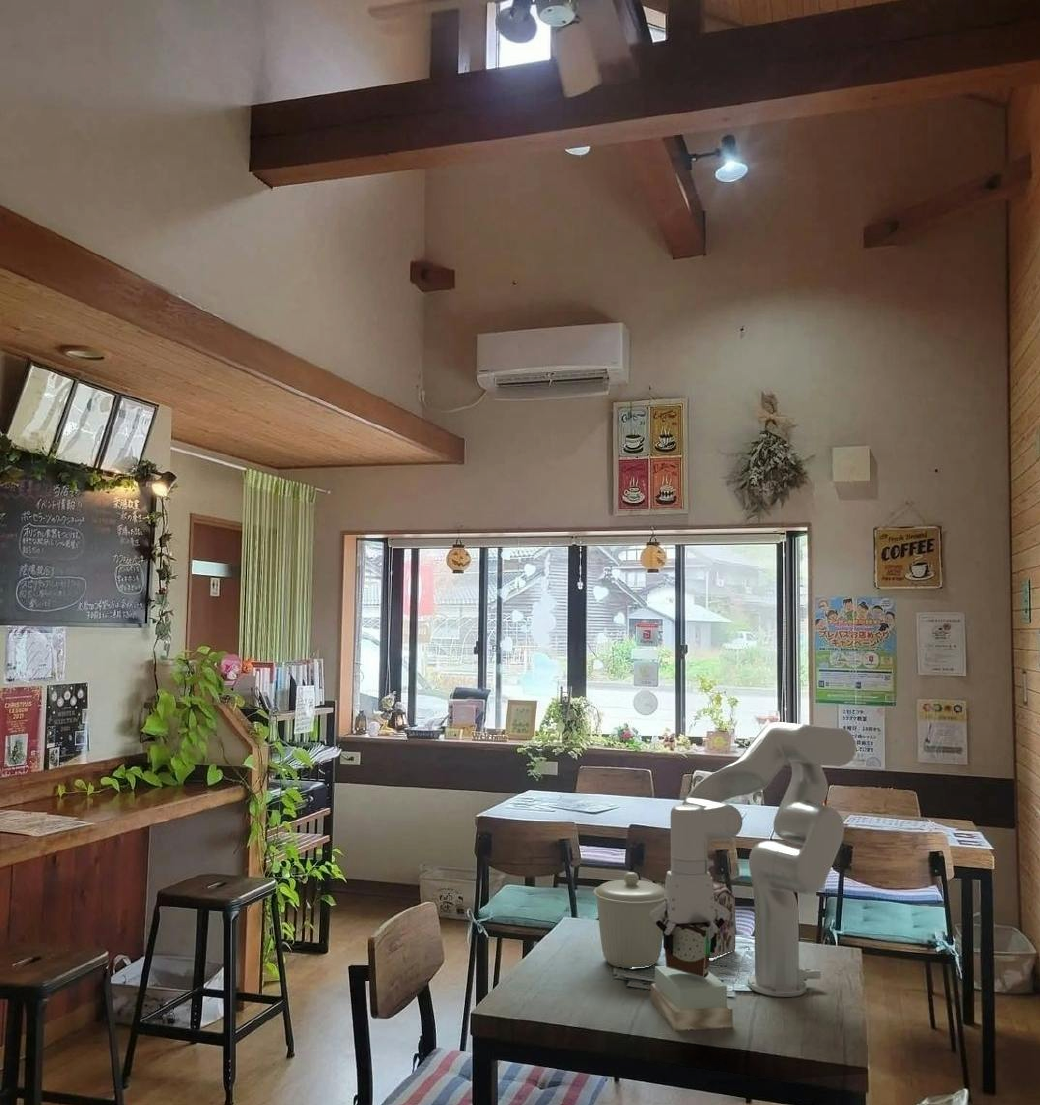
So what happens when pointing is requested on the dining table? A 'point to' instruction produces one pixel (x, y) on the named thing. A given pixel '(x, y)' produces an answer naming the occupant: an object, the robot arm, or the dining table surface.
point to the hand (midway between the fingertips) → (689, 951)
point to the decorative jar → (728, 928)
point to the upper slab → (690, 989)
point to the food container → (690, 948)
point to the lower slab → (691, 1014)
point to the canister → (629, 921)
